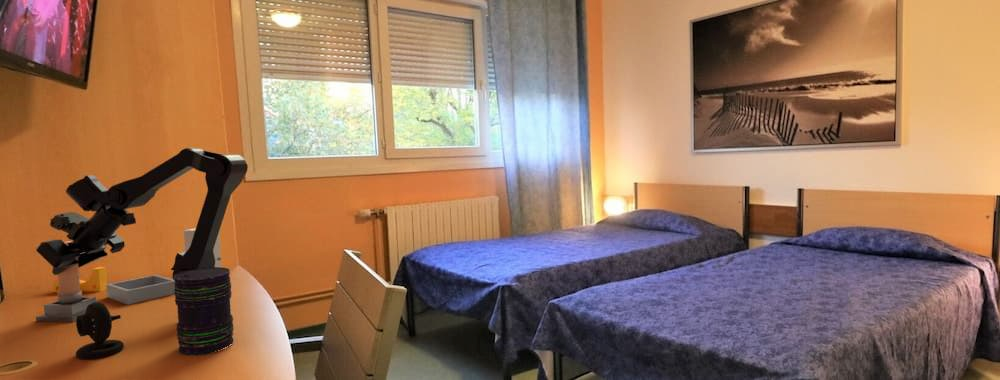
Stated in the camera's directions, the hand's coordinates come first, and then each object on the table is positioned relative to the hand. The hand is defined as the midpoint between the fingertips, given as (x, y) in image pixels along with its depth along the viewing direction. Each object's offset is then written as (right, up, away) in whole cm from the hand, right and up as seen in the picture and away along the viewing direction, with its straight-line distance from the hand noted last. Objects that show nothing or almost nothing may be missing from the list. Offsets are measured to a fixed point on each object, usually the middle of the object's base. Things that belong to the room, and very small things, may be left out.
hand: (62, 271), depth 125 cm
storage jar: (+45, -12, -19) cm, 50 cm away
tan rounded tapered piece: (+1, -7, +1) cm, 7 cm away
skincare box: (+12, -7, +38) cm, 40 cm away
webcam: (+25, -13, -22) cm, 36 cm away
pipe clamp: (-13, -9, +22) cm, 27 cm away
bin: (+7, -9, +17) cm, 21 cm away
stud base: (+1, -11, +1) cm, 11 cm away
